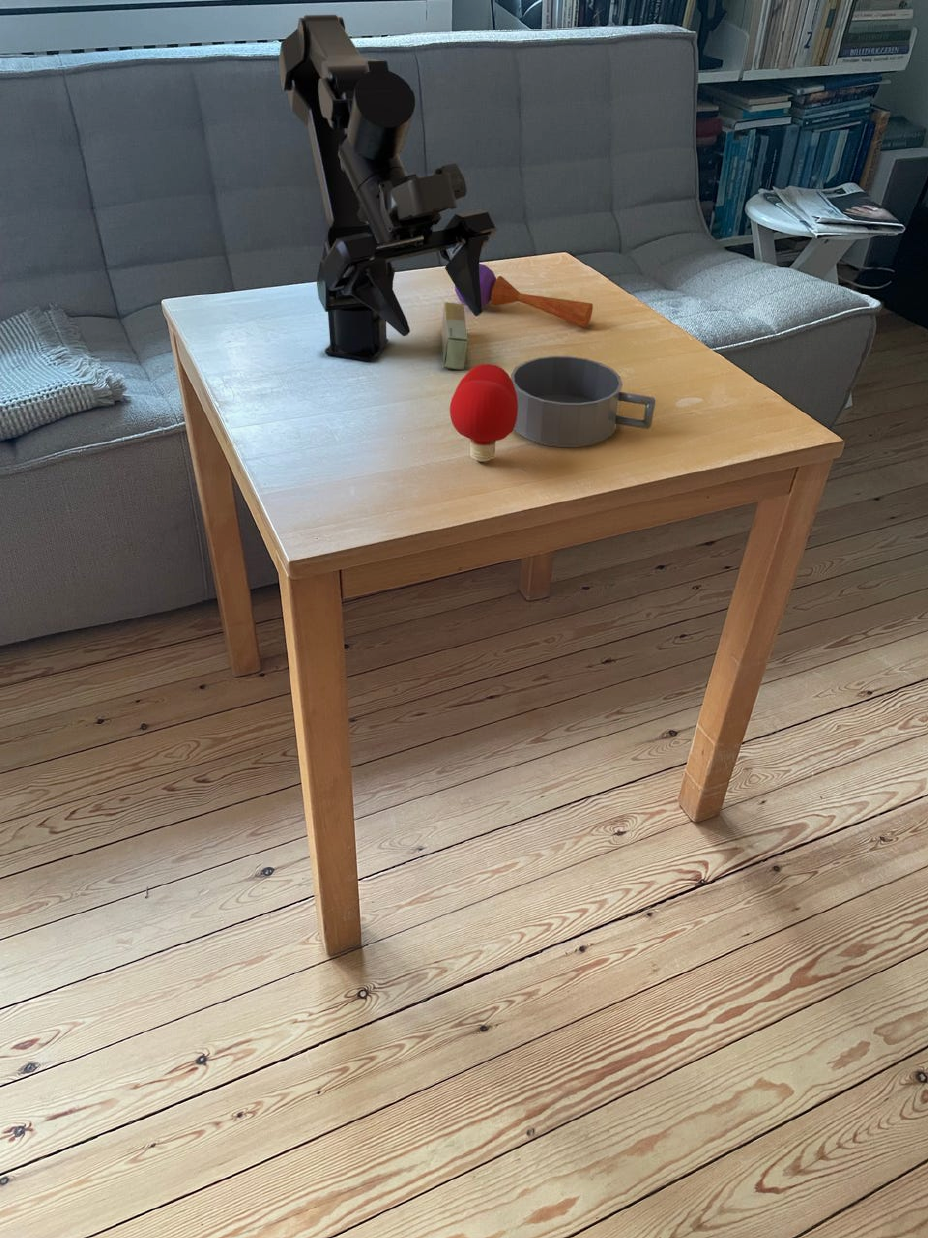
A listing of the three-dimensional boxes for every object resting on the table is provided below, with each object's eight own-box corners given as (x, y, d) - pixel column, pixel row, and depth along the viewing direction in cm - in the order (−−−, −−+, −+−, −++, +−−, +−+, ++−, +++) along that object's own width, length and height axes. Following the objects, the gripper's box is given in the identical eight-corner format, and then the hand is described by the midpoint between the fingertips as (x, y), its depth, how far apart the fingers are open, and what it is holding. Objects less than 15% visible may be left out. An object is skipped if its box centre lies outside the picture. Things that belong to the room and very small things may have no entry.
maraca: (583, 307, 123) (447, 271, 129) (578, 345, 128) (448, 309, 133) (598, 284, 127) (466, 250, 132) (593, 323, 132) (465, 288, 137)
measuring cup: (495, 436, 104) (497, 393, 101) (524, 389, 113) (527, 349, 110) (640, 461, 100) (647, 418, 97) (658, 411, 110) (665, 370, 106)
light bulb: (507, 487, 96) (512, 398, 90) (441, 479, 97) (441, 390, 90) (520, 444, 103) (526, 359, 97) (459, 437, 104) (460, 352, 98)
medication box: (464, 370, 117) (468, 340, 115) (443, 368, 117) (446, 338, 114) (459, 330, 126) (463, 301, 124) (440, 328, 126) (443, 299, 123)
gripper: (327, 148, 84) (397, 306, 84) (488, 123, 93) (552, 266, 93) (293, 216, 94) (357, 358, 94) (442, 188, 103) (500, 318, 103)
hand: (443, 323), depth 96 cm, fingers open, 9 cm apart
